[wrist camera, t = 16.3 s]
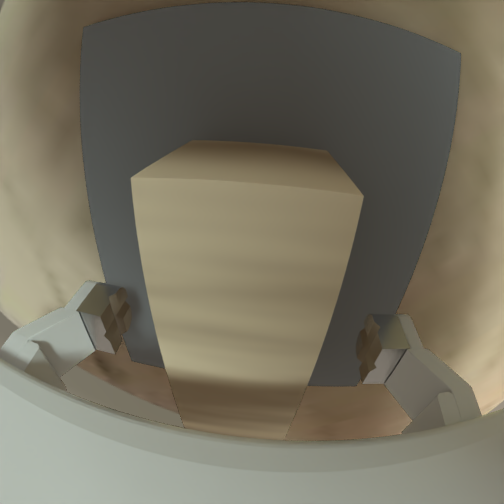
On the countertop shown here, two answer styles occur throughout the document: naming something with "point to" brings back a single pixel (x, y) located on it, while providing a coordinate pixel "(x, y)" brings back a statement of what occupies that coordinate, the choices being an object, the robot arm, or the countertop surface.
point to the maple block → (243, 275)
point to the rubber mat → (272, 134)
